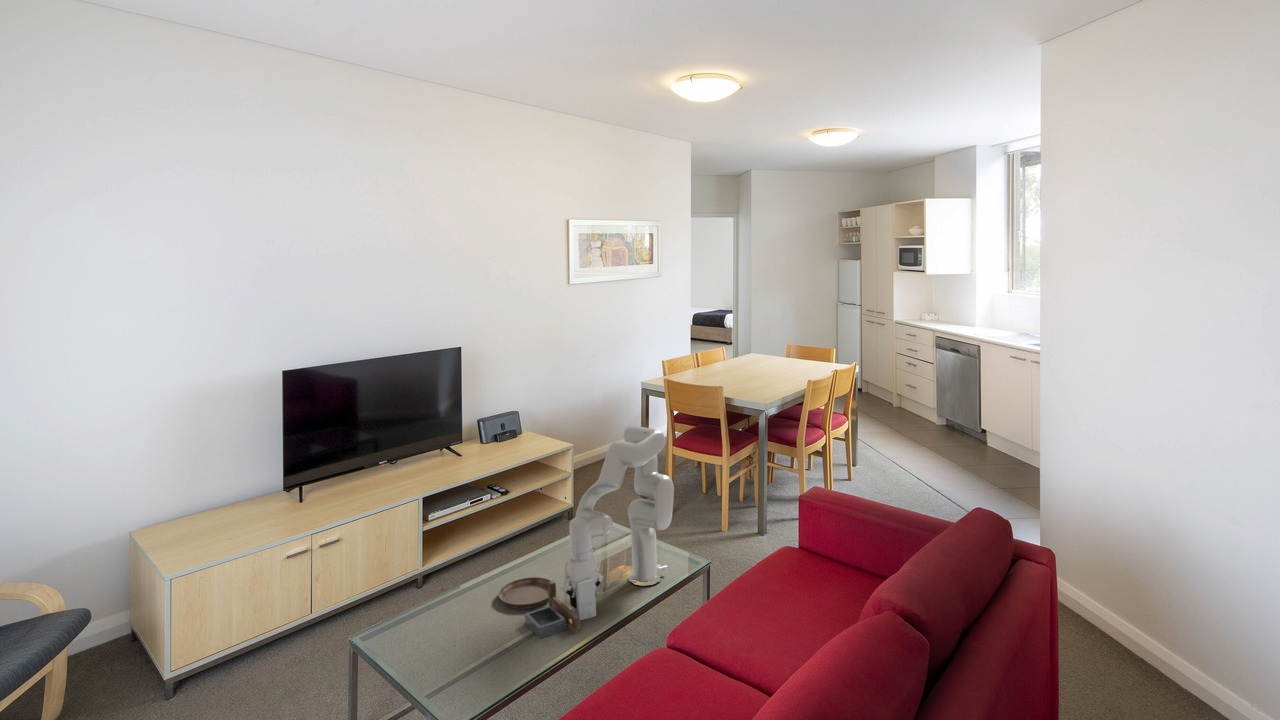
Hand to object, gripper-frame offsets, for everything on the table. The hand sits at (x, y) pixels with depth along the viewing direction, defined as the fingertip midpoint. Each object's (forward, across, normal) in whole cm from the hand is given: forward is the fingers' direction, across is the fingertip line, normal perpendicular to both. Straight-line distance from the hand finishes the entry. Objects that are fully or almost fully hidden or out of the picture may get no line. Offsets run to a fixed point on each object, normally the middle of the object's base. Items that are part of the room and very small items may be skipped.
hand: (583, 603), depth 221 cm
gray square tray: (+4, +14, 0) cm, 15 cm away
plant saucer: (+4, +11, -23) cm, 26 cm away
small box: (+4, 0, 0) cm, 4 cm away
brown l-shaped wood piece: (+4, +8, 0) cm, 8 cm away
